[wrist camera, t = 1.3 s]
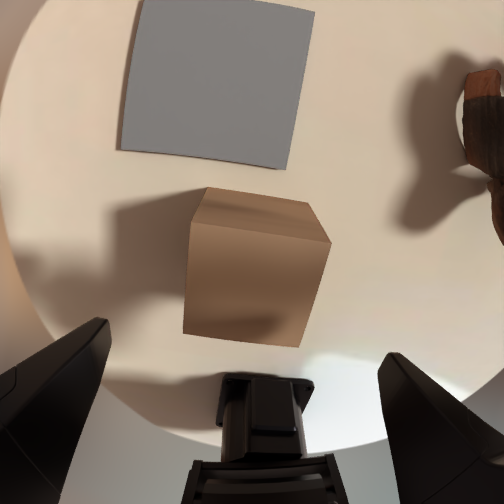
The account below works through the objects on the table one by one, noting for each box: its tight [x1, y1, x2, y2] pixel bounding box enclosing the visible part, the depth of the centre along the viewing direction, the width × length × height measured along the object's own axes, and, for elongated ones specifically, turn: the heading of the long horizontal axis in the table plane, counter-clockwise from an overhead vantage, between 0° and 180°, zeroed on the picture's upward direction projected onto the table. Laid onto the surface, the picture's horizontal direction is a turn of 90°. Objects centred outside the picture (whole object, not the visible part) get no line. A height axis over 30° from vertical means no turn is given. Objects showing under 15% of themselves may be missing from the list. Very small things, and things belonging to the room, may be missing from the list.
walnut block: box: [183, 187, 332, 348], centre depth 14 cm, size 5×5×5 cm
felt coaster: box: [121, 0, 315, 170], centre depth 13 cm, size 8×8×1 cm
